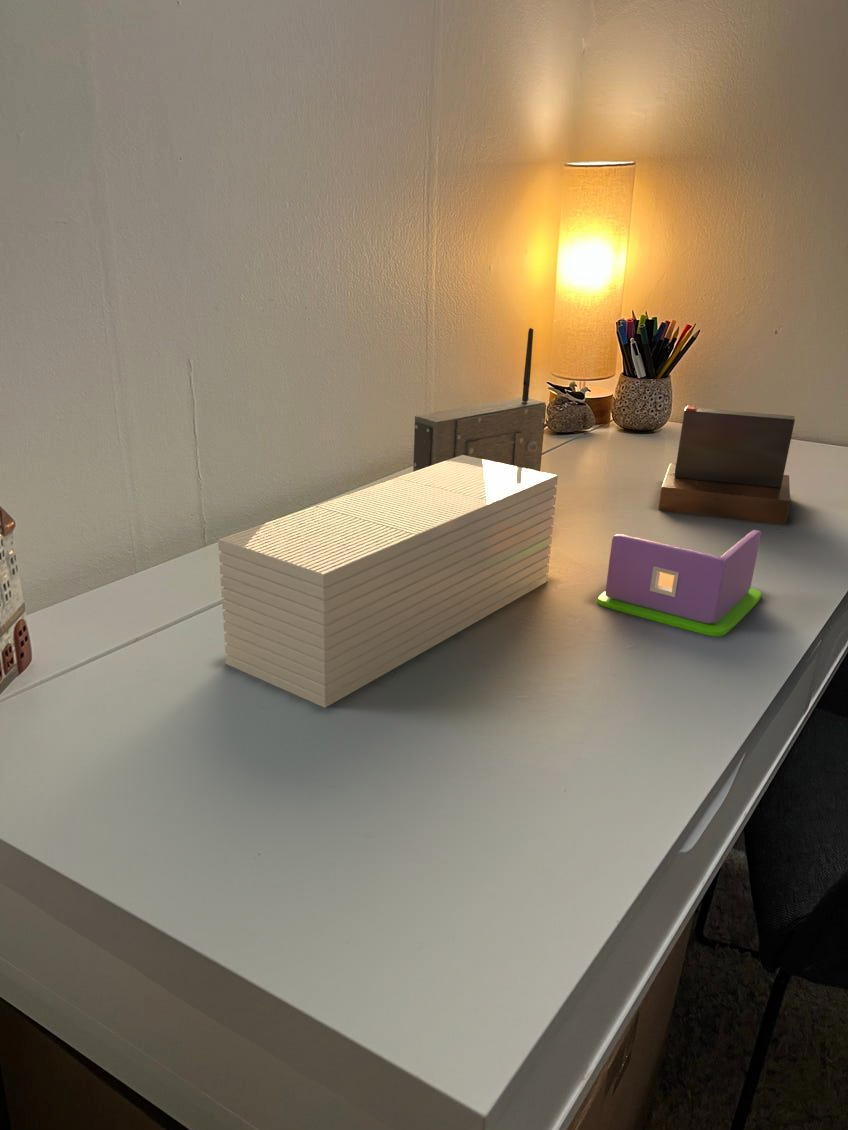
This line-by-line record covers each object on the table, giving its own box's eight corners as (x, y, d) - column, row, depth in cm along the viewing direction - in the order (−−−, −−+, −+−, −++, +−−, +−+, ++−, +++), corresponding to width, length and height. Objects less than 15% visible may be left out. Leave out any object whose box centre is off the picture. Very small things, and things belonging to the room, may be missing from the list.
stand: (784, 498, 118) (789, 475, 116) (785, 526, 108) (790, 500, 107) (666, 485, 122) (670, 462, 121) (657, 511, 113) (661, 486, 111)
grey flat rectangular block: (780, 483, 113) (794, 413, 109) (780, 488, 111) (795, 417, 108) (675, 472, 116) (685, 404, 113) (674, 477, 115) (684, 408, 111)
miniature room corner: (721, 641, 81) (735, 566, 78) (591, 605, 88) (600, 535, 85) (764, 597, 90) (779, 528, 87) (643, 567, 97) (652, 502, 94)
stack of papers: (324, 710, 70) (323, 574, 66) (226, 666, 77) (218, 539, 72) (547, 583, 93) (557, 475, 88) (456, 557, 99) (462, 454, 94)
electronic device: (514, 488, 120) (527, 323, 112) (554, 502, 116) (571, 330, 107) (408, 514, 111) (413, 336, 102) (447, 530, 106) (456, 344, 97)
